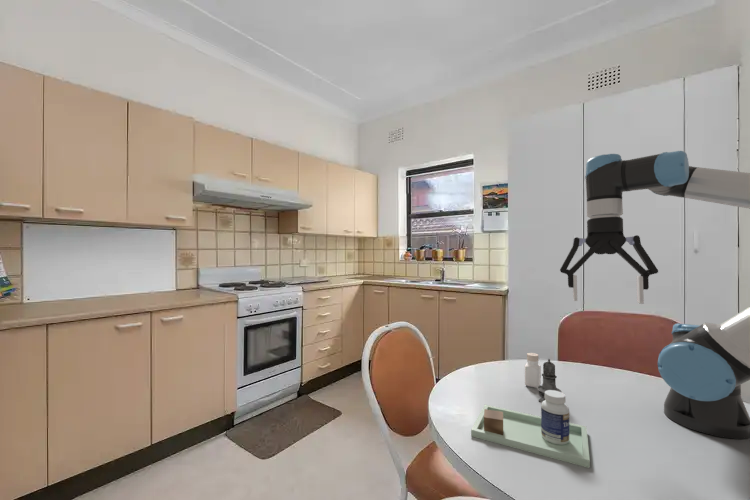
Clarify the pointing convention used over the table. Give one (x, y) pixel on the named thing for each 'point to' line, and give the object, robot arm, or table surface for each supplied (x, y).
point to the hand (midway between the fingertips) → (606, 301)
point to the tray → (535, 437)
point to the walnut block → (493, 421)
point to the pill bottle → (555, 418)
